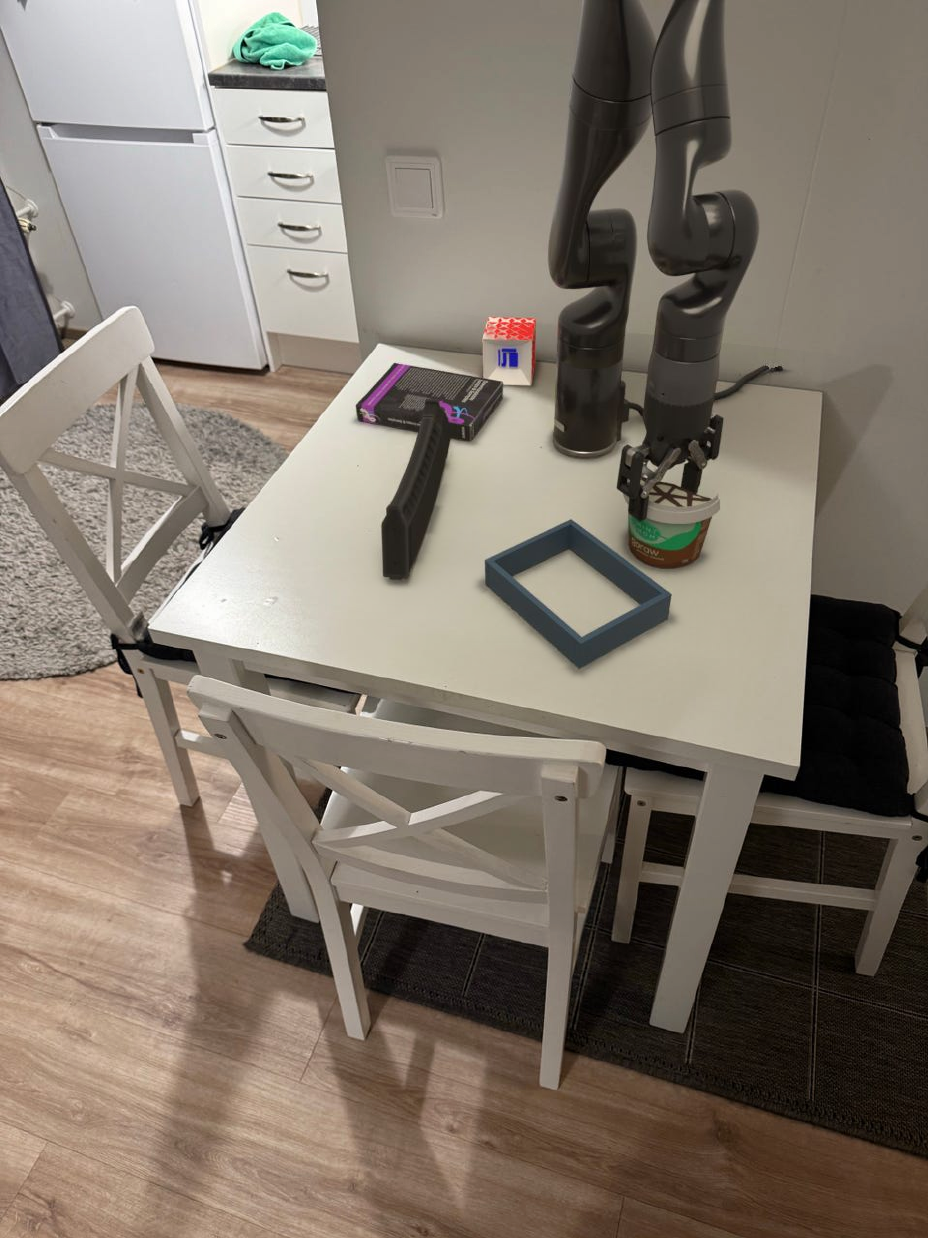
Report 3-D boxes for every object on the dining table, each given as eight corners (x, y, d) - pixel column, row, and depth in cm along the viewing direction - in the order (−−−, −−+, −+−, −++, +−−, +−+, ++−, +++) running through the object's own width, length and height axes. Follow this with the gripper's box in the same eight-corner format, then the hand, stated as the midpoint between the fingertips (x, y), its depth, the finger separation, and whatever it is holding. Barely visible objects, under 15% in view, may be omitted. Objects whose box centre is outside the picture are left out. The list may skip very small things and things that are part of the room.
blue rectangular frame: (569, 543, 118) (571, 518, 116) (667, 619, 107) (672, 593, 105) (485, 584, 113) (484, 559, 110) (579, 669, 102) (580, 643, 99)
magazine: (398, 542, 105) (440, 356, 120) (371, 540, 106) (416, 355, 120) (417, 617, 120) (452, 443, 135) (393, 615, 120) (431, 441, 135)
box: (357, 423, 143) (471, 444, 137) (354, 403, 141) (470, 423, 134) (396, 381, 152) (505, 398, 146) (393, 361, 150) (504, 378, 143)
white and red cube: (535, 362, 155) (536, 318, 149) (531, 385, 149) (532, 340, 144) (488, 361, 156) (487, 316, 150) (483, 383, 150) (481, 338, 145)
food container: (600, 553, 117) (606, 489, 110) (622, 528, 120) (629, 465, 113) (690, 587, 111) (701, 522, 104) (710, 560, 115) (722, 495, 108)
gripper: (657, 420, 95) (641, 542, 106) (752, 378, 100) (727, 497, 111) (608, 392, 99) (598, 511, 110) (702, 352, 105) (683, 470, 116)
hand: (663, 504), depth 111 cm, fingers open, 8 cm apart
